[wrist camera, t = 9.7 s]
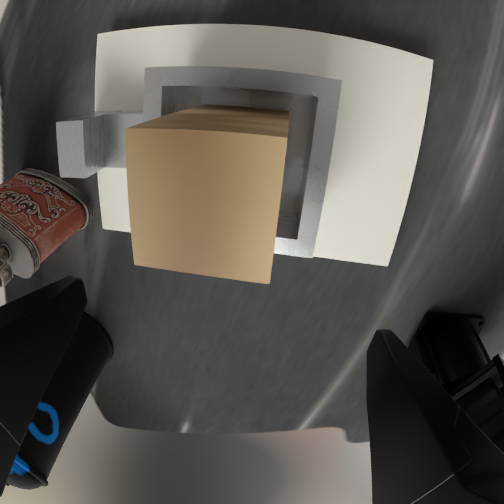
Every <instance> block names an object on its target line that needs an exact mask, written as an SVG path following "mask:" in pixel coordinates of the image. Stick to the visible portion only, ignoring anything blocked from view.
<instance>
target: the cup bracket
mask: <svg viewBox="0 0 504 504" xmlns="http://www.w3.org/2000/svg"><path fill="white" fill-rule="evenodd" d="M341 85H342V80H338V79H333V78H327V77H321V76H314V75H308V74H300V73H293V72H284V71H275V70H265V69H253V68H237V67H214V66H167V67H145V75H144V100H143V111H140V112H121V110H112V111H95V112H91V113H87V114H83V115H80V116H76V117H72V118H69V119H65V120H62V121H58V122H56V133H57V149H58V161H59V171H60V177H66V178H88V177H89V176H91V175H93V174H94V173H96V172H98V171H100V170H101V169H103V168H105V167H110V168H126V138H125V128H128V127H131V126H134V125H137V124H140V123H143V122H146V121H149V120H152V119H155V118H158V117H162V116H165V115H168V114H172V113H175V112H178V111H182V110H185V109H189V108H193V107H196V106H200V105H204V104H209V105H228V106H243V107H255V108H265V109H275V110H284V111H290V113H289V127H288V140H287V149H286V157H285V166H284V174H283V183H282V191H281V199H280V207H279V215H278V223H277V231H276V239H275V246H274V253H276V254H284V255H291V256H299V257H306V258H313V253H314V248H315V243H316V238H317V233H318V228H319V223H320V217H321V212H322V207H323V201H324V196H325V190H326V184H327V179H328V173H329V167H330V161H331V154H332V148H333V142H334V135H335V128H336V122H337V115H338V107H339V100H340V92H341Z"/></svg>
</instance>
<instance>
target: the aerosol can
mask: <svg viewBox="0 0 504 504" xmlns="http://www.w3.org/2000/svg"><path fill="white" fill-rule="evenodd" d="M112 356H113V347H112V344H111V341H110V339H109V337H108V335H107V334H106V332H105V331H104V330H103V328H102V327H101V326H100V325H99V324H98V323H97V322H96V321H95V320H94V319H93V318H92V317H90V316H89V315H88V314H86V313H85V312H83V314H82V316H81V318H80V321H79V323H78V325H77V328H76V330H75V332H74V335H73V337H72V339H71V341H70V344H69V346H68V348H67V350H66V351H65V353H64V355H63V357H62V359H61V361H60V363H59V365H58V366H57V368H56V370H55V372H54V374H53V376H52V378H51V380H50V382H49V384H48V386H47V388H46V390H45V392H44V394H43V396H42V398H41V401H40V403H39V405H38V407H37V409H36V411H35V413H34V416H33V418H32V420H31V422H30V425H29V427H28V429H27V431H26V434H25V436H24V438H23V441H22V443H21V445H20V448H19V451H18V453H17V456H16V458H15V461H14V463H13V466H12V469H11V471H10V474H9V477H8V479H7V482H6V485H7V486H9V485H12V486H15V487H18V488H22V489H35V488H38V487H40V486H47V485H48V481H47V478H48V476H49V474H50V471H51V469H52V467H53V465H54V463H55V461H56V459H57V456H58V454H59V452H60V450H61V448H62V446H63V444H64V442H65V440H66V438H67V436H68V434H69V432H70V430H71V428H72V426H73V424H74V422H75V420H76V418H77V416H78V414H79V412H80V410H81V408H82V406H83V404H84V403H85V401H86V399H87V397H88V395H89V393H90V391H91V389H92V387H93V386H94V384H95V382H96V380H97V378H98V376H99V375H100V373H101V371H102V369H103V367H104V366H105V364H106V363H108V362H109V361H110V360H111V358H112Z"/></svg>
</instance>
